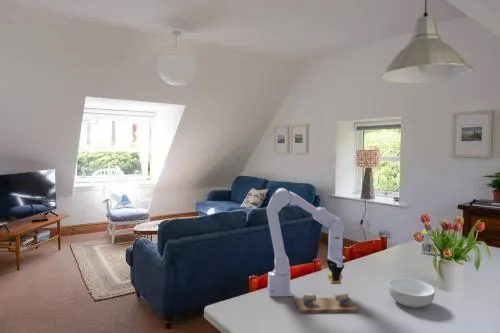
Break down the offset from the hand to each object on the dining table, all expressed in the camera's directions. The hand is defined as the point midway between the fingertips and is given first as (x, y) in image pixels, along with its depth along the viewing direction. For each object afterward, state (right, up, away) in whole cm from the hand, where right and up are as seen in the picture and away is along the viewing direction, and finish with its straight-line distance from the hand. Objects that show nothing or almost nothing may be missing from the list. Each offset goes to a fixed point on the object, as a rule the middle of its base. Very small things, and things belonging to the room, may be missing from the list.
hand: (334, 278), depth 148 cm
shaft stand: (-6, -7, -11) cm, 14 cm away
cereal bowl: (+28, -8, -7) cm, 30 cm away
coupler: (0, -2, 0) cm, 2 cm away
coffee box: (+73, -4, +60) cm, 95 cm away
